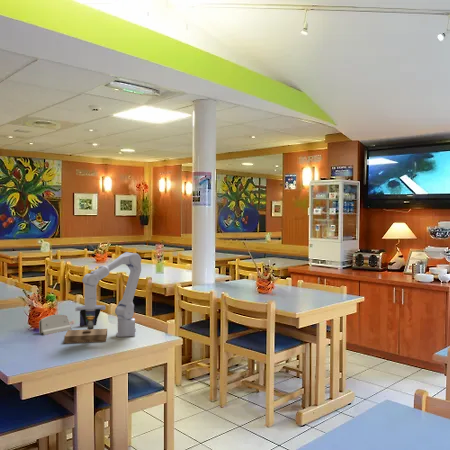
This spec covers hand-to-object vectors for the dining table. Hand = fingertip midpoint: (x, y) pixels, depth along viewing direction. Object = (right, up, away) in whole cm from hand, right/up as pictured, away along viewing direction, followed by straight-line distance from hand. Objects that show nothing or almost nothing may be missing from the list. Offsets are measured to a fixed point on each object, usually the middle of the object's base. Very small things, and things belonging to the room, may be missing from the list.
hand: (90, 324), depth 229 cm
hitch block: (-4, -9, +5) cm, 11 cm away
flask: (-11, -8, +33) cm, 36 cm away
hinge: (-26, -9, +21) cm, 34 cm away
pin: (0, -2, 0) cm, 2 cm away
